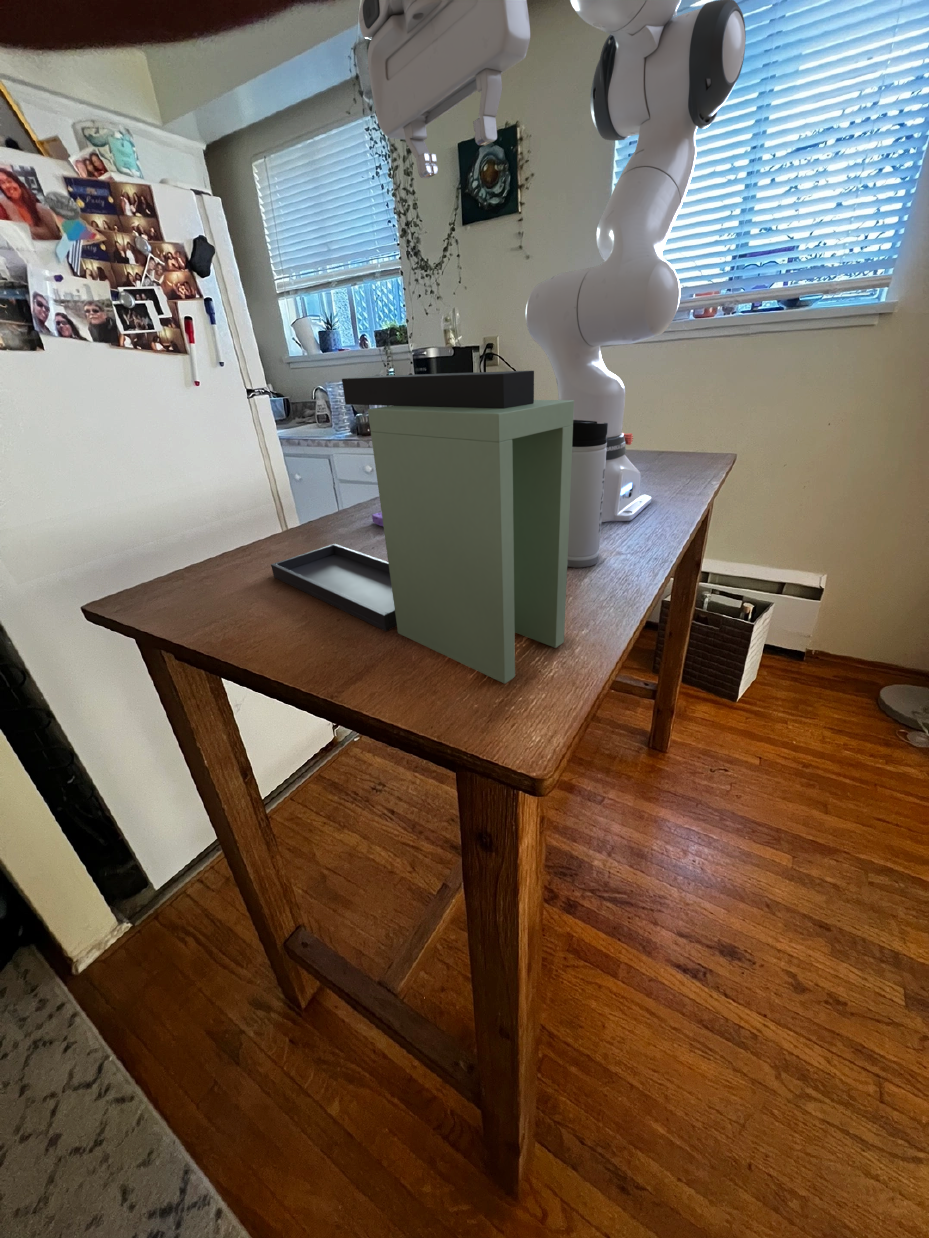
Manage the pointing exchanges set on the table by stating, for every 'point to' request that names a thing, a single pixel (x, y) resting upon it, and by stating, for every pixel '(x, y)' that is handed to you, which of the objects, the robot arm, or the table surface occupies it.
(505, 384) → the black pad
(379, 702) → the table surface
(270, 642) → the table surface
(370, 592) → the shallow dark gray tray
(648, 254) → the robot arm
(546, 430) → the stool
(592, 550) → the travel mug
